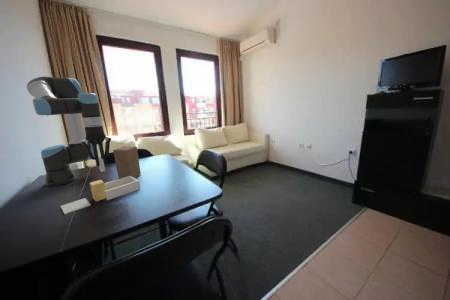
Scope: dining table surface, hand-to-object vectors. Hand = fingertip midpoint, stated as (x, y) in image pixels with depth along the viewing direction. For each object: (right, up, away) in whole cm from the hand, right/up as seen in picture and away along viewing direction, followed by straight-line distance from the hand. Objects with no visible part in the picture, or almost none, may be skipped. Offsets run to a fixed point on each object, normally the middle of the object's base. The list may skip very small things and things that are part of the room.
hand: (102, 170), depth 98 cm
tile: (-9, -16, -7) cm, 20 cm away
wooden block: (0, -7, +29) cm, 30 cm away
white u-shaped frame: (+5, -12, +8) cm, 16 cm away
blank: (-2, -14, +1) cm, 15 cm away
